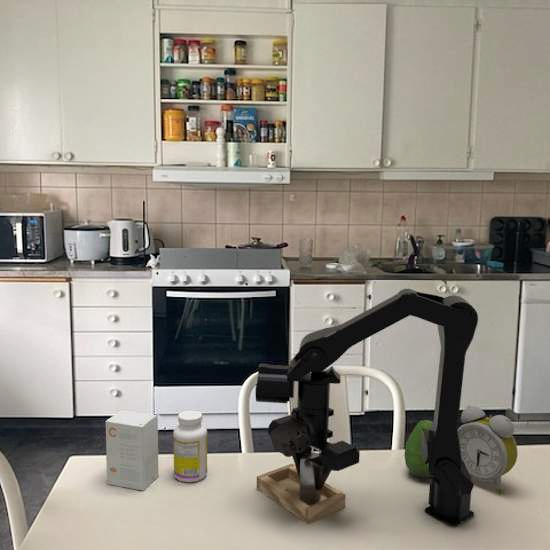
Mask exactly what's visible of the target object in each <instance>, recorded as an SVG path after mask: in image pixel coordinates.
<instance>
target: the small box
mask: <svg viewBox="0 0 550 550" xmlns="http://www.w3.org/2000/svg"><path fill="white" fill-rule="evenodd" d="M158 418H159V416H158V414H153V413H146V412H139V411H133V410H127V409H125V410H124V409H121V410H120V411H118V412H117V413H116V414H114V415H112V416H111V417H110V418H108V419H106V420H105V422H104V423H105V448H106V450H105V451H106V453H105V454H106V485H111V486H116V487H117V486H118V487H123V488H128V489H131V490H132V489H133V490H136V491H137V490H138V491H145V490H146V488H148V487H149V486H150V485H151V484H152V483H154V481H155V480H156V479H157V478H158V477H159V476H160V475H159V471H160V470H159V428H158V427H159V426H158V425H159V421H158Z"/></svg>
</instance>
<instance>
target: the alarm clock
mask: <svg viewBox="0 0 550 550" xmlns="http://www.w3.org/2000/svg"><path fill="white" fill-rule="evenodd" d="M460 421H461V423H463V424H462V425H460V426H459V427H458V437H459V443H460V449H461V460H462V461H463V462H464V464H465V466H466V468H467V470H468V472H469V474H470V477H471V478H475V479H476V480H479V481H483V482H485V481H486V482H489V481H490V482H491V481H493V483H494V485H495V486H496V489H497V491H498V492H499V494H503V493H504V487H503V482H502V476H504V475H506V474H507V473H509V472H511V471H512V470H513V468H514V467H515V465H516V462H517V459H518V455H519V454H518V445H517V442H516V440H515V437H514V436H513V435H514V432H515V428H514V423H513V421H512V420H511V419H510V418H509V417H508V416H505V415H502V414H496V415H494V416H492V414H489V417H488V416H487V417H486V412H485V411H484V410H483V409H482V408H480V407H478V406H473V405H469V404H468V405H467V406H466V408H464V409H463V411H462V412H461V415H460Z"/></svg>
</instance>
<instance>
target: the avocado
mask: <svg viewBox="0 0 550 550" xmlns="http://www.w3.org/2000/svg"><path fill="white" fill-rule="evenodd" d="M433 421H434V420H433ZM433 421H432V420H430V419H429V420H428V419H422V420H419V422H418V423H417V424H416V425H415V426H414V429H412V431H411V433H410V435H409V436H408V438H407V441H406V443H405V448H404V455H403V456H404V461H405V462H404V463H405V466H406V467H407V469H408V471H409V472H410V473H411V474H412V475H414V476H416V477H417V478H422V479H424V478H431V477H433V476H432V475H431V474H430V472H429V469H428V466H427V464H425V463H424V460H423V456H422V453H421V450H420V445H421V443H422V428H425V429H430V427H431V425H432V424H433Z"/></svg>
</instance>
